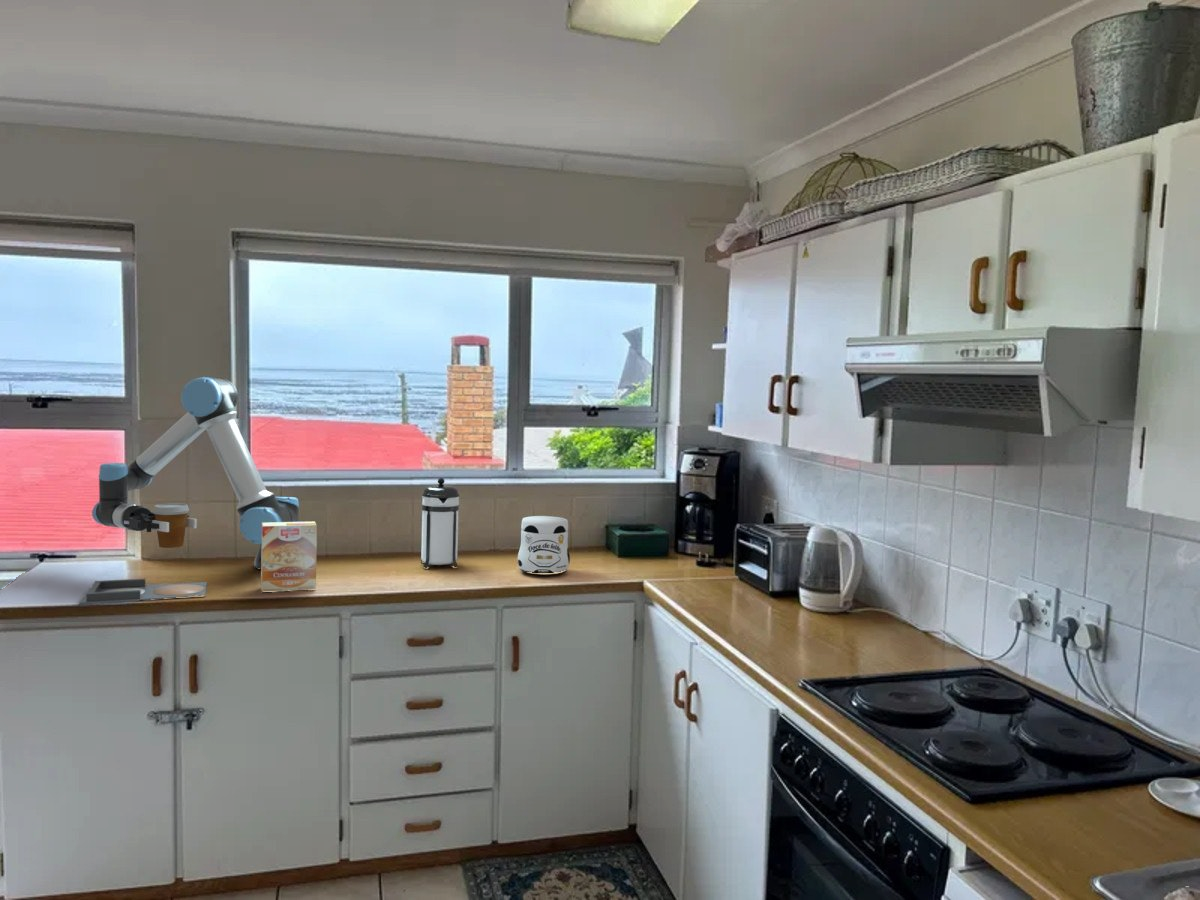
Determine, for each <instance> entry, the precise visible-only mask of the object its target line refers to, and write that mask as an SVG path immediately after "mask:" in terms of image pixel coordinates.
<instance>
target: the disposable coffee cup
mask: <svg viewBox="0 0 1200 900" xmlns="http://www.w3.org/2000/svg"><path fill="white" fill-rule="evenodd" d="M189 512H190V508H189V506H188V504H186V503H160V504H155V505H154V508H153V509H152V513H154V514H155V519H156V520H157V521H163V522H169V532H162V531H157V530H156V532H157V540H158V547H159V548H162V549H163V548H164V549H175V548H180V547H183V546H184V541H185V534H186V529H187V527H186V521H187V515H188V513H189Z"/></svg>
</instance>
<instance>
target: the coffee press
mask: <svg viewBox="0 0 1200 900" xmlns="http://www.w3.org/2000/svg"><path fill="white" fill-rule="evenodd" d="M437 483H438V484H433V485H428V486H425V488H424V489H423V490H422V492H421V497H422V501H421V502H422V503H421V548H420V549H421V553H420V556H421V557H420V558H421V560H420V562H421V561H423V562H424V564H423V567H425V568H427V567H430V568H431V567H432V566H433V565H437V566H442V565H448V566H450V567H451V566H455V567H457V566H458V567H459V565H458V562H457V560H458V547H459V545H458V544H459V543H458V541H459V540H458V539H459V511H460V502H459V501H460V496H461V493H460V492H459V489H458V488H457V487H456V486H453V485H449V484H447V485H446V484H445V479H444V478H443V477H439V478H438V479H437Z"/></svg>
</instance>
